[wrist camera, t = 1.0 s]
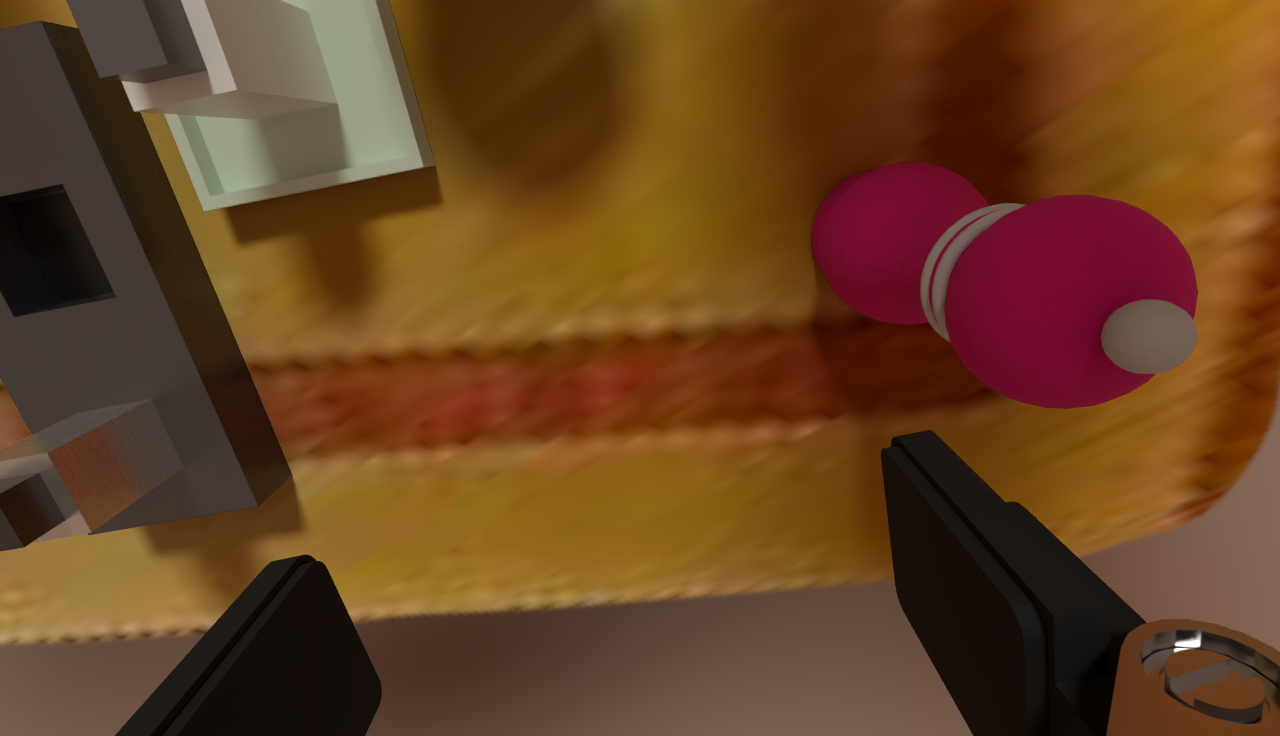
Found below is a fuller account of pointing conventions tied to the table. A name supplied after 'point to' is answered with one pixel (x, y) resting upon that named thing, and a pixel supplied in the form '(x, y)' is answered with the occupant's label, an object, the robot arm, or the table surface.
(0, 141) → the grey piece
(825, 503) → the table surface
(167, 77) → the plug
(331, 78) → the tray
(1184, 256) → the pepper mill
